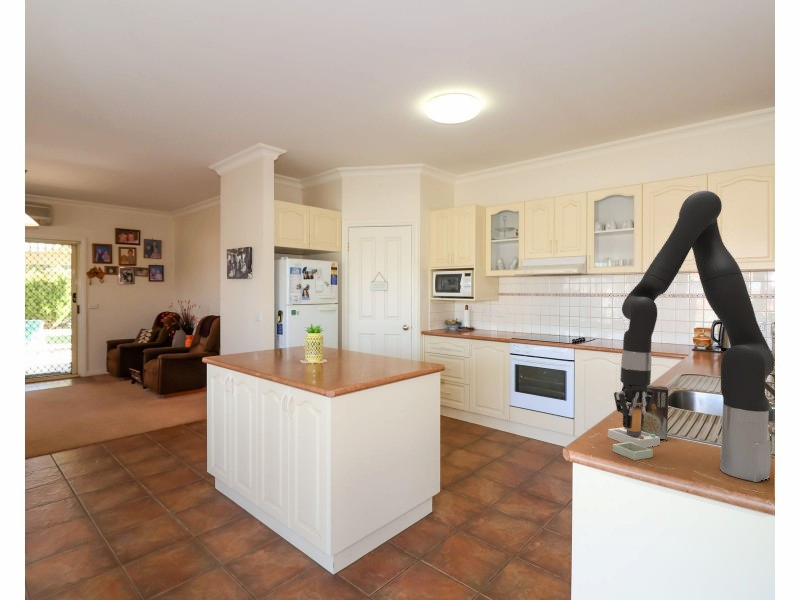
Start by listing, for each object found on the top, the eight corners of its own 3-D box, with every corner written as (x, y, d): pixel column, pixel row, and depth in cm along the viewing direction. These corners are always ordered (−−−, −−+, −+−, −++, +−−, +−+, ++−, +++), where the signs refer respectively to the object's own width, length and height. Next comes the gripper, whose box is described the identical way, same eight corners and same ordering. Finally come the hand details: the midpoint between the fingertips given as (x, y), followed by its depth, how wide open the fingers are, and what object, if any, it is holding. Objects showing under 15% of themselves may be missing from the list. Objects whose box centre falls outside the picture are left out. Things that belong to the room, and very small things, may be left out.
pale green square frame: (652, 457, 124) (653, 449, 124) (634, 460, 121) (635, 452, 121) (630, 448, 131) (630, 441, 131) (612, 451, 128) (612, 444, 128)
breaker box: (659, 445, 134) (660, 434, 134) (639, 448, 131) (639, 437, 131) (627, 434, 144) (628, 424, 144) (607, 437, 141) (608, 426, 141)
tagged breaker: (641, 435, 134) (641, 422, 134) (635, 436, 133) (636, 423, 133) (632, 432, 137) (632, 420, 137) (626, 433, 136) (626, 420, 135)
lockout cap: (643, 430, 125) (645, 409, 125) (633, 432, 124) (634, 410, 124) (631, 426, 129) (632, 406, 129) (621, 427, 128) (622, 407, 127)
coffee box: (666, 435, 144) (668, 386, 144) (667, 441, 139) (669, 390, 138) (634, 430, 149) (636, 383, 148) (634, 436, 143) (636, 386, 143)
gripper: (641, 364, 132) (638, 421, 133) (606, 365, 127) (603, 425, 127) (665, 368, 125) (662, 429, 126) (629, 370, 120) (626, 433, 120)
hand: (632, 426), depth 126 cm, fingers closed on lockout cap, 4 cm apart
